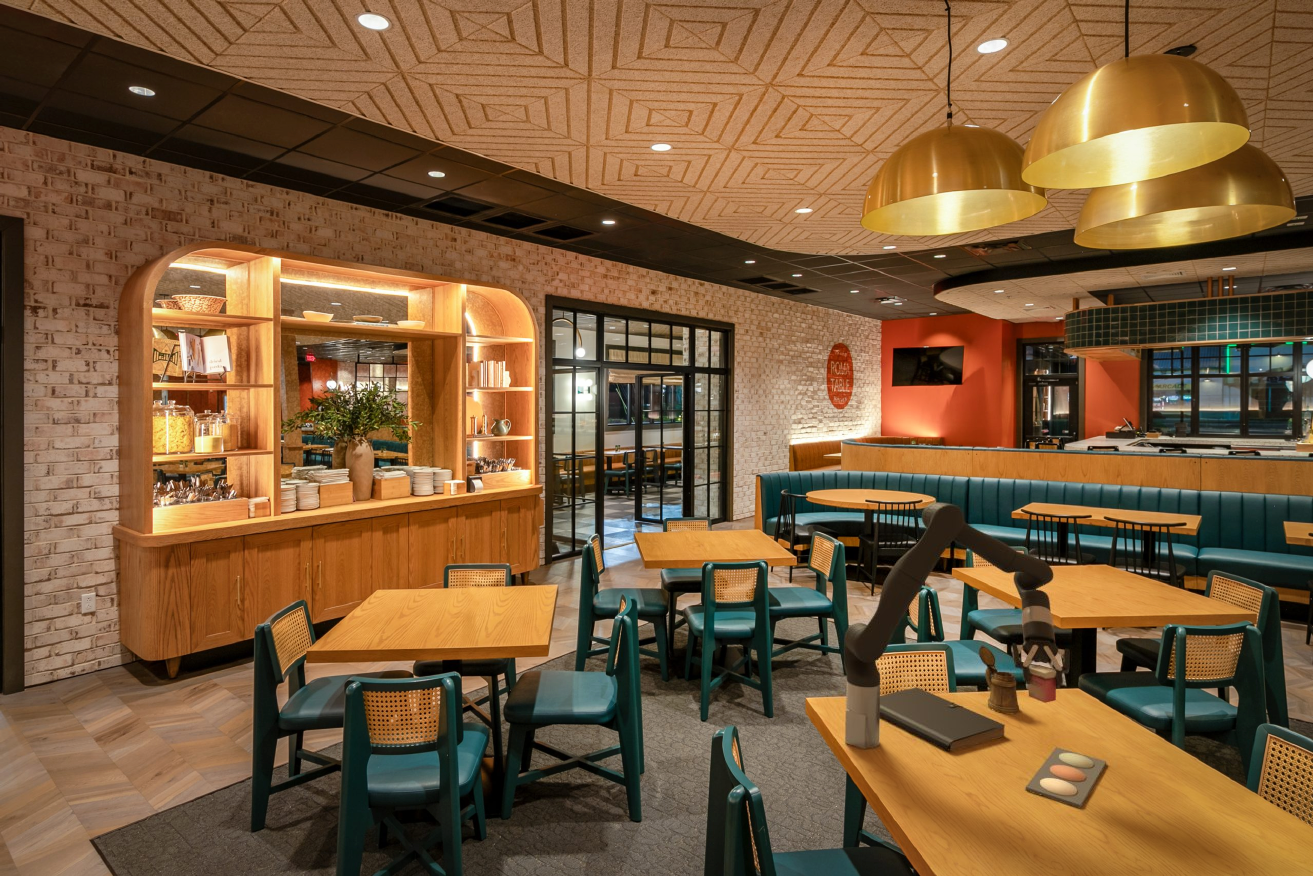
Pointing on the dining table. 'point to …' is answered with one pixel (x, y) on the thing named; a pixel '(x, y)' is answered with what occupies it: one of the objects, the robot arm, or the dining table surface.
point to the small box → (1042, 683)
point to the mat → (1067, 777)
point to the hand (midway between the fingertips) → (1043, 684)
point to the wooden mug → (999, 685)
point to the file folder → (938, 719)
